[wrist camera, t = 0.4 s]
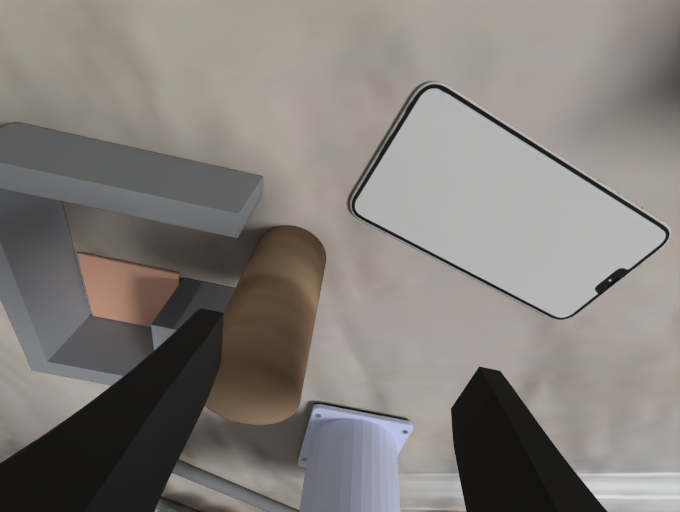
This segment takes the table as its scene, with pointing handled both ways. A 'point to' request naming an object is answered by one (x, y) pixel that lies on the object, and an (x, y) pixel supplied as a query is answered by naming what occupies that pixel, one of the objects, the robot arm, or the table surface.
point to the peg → (269, 329)
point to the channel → (100, 272)
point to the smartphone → (501, 206)
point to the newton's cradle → (169, 508)
